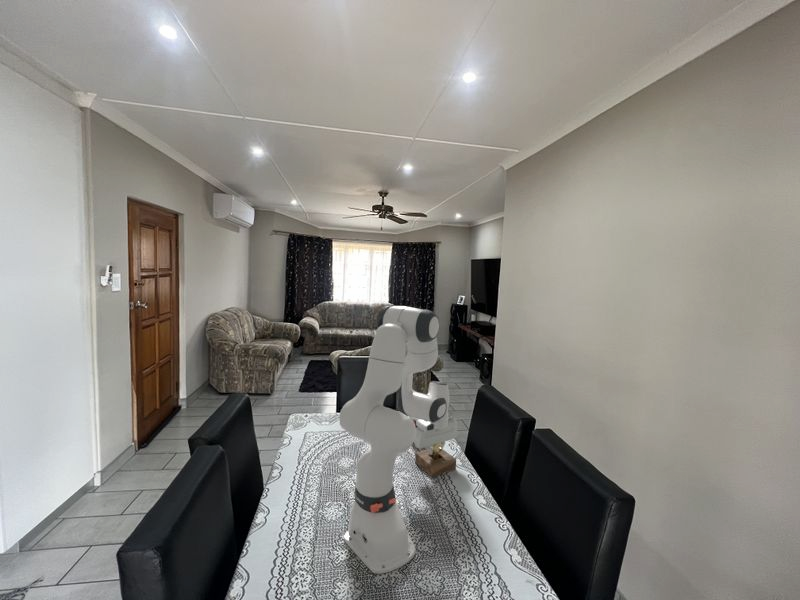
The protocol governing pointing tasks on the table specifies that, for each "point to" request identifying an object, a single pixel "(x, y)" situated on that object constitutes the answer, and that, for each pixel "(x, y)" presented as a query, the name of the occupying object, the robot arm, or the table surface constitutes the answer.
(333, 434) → the table surface
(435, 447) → the pin
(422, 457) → the socket block
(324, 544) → the table surface
